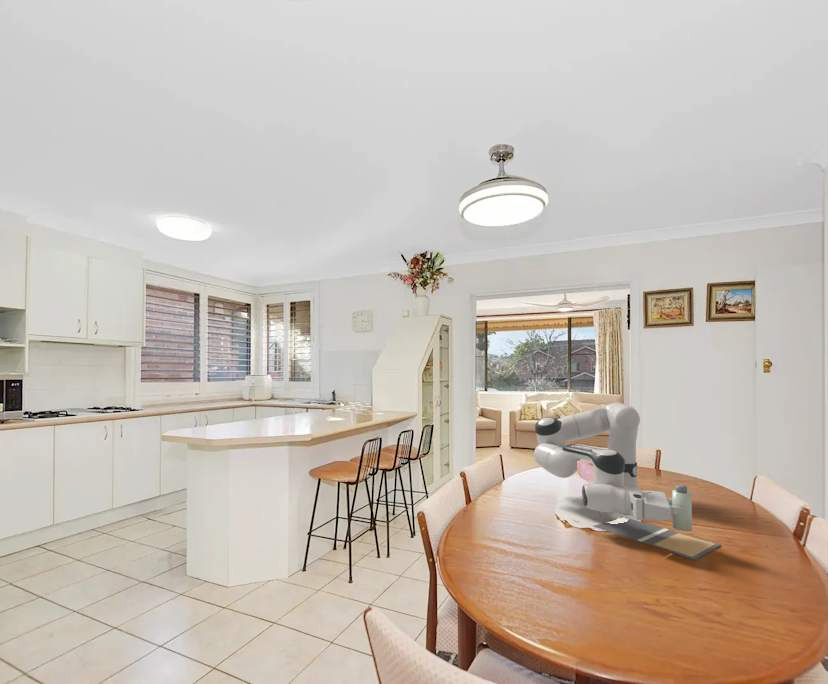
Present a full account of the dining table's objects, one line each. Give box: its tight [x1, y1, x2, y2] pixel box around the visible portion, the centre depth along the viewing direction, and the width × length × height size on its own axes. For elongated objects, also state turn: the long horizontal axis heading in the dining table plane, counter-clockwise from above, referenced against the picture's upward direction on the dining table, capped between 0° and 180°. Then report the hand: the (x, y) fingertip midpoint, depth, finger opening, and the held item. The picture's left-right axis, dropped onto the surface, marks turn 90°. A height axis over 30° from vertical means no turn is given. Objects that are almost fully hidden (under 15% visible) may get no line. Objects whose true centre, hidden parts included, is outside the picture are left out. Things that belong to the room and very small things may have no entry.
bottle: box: [671, 484, 693, 532], centre depth 142 cm, size 5×5×13 cm
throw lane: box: [593, 518, 721, 561], centre depth 148 cm, size 32×18×1 cm, turn 36°
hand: (685, 507), depth 141 cm, fingers closed on bottle, 5 cm apart
